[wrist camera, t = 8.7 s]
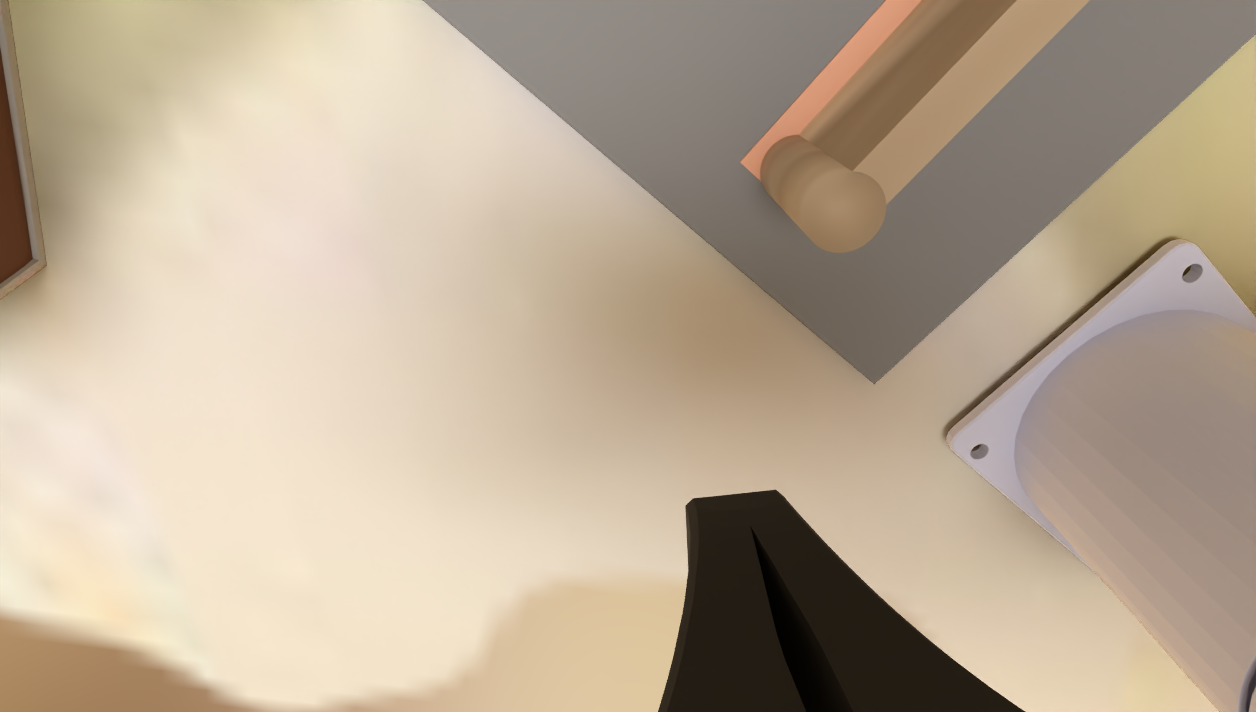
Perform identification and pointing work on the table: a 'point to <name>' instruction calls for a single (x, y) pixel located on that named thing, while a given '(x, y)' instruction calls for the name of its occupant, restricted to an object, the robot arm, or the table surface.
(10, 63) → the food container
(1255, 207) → the table surface
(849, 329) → the mat
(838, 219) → the fixed fence section
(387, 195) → the table surface
